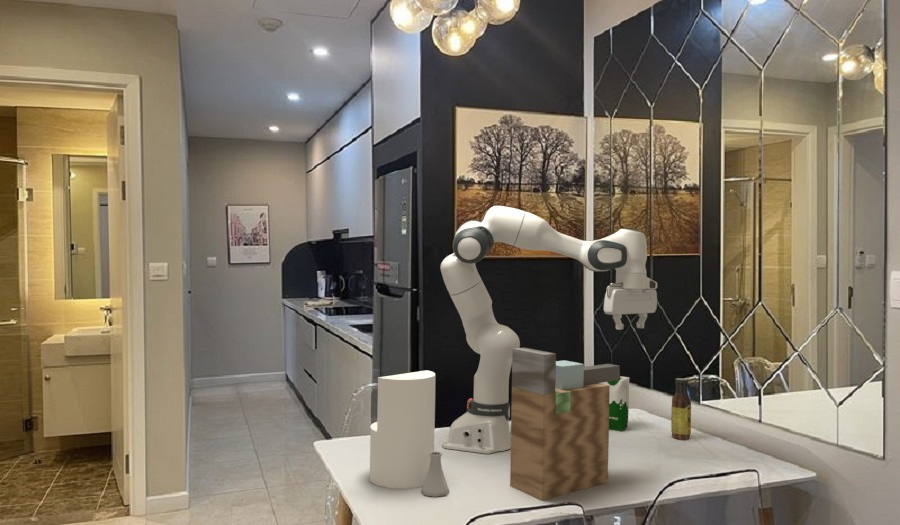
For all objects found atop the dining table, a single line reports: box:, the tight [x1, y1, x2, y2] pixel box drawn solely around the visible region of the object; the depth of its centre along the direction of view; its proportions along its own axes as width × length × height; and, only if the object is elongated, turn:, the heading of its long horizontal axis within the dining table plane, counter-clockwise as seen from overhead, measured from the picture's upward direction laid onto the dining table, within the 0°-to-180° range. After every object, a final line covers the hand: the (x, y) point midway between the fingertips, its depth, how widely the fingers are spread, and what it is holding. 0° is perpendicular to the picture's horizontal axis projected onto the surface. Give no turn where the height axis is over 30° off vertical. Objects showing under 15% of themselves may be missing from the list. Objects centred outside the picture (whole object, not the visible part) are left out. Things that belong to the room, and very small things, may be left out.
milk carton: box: [601, 372, 630, 432], centre depth 230 cm, size 9×9×20 cm
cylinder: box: [369, 370, 436, 490], centre depth 175 cm, size 17×17×28 cm
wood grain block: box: [509, 347, 610, 501], centre depth 171 cm, size 24×13×36 cm, turn 125°
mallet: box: [555, 359, 621, 390], centre depth 176 cm, size 24×7×6 cm, turn 125°
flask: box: [420, 450, 450, 498], centre depth 164 cm, size 7×7×10 cm
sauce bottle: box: [670, 377, 692, 441], centre depth 219 cm, size 7×6×20 cm
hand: (630, 328), depth 194 cm, fingers open, 8 cm apart
